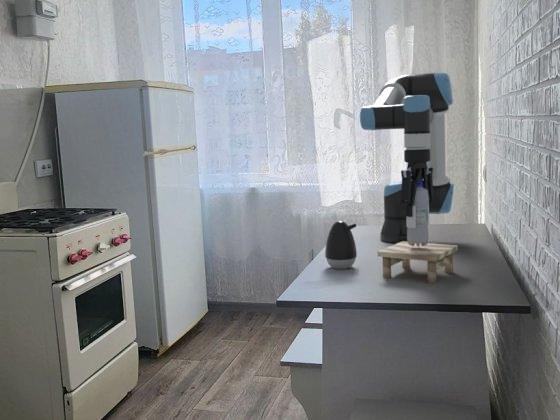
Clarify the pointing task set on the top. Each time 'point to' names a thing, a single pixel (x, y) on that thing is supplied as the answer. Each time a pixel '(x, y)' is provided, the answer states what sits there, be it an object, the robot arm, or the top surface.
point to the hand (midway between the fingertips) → (417, 225)
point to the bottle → (420, 218)
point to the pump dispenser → (341, 246)
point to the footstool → (419, 257)
